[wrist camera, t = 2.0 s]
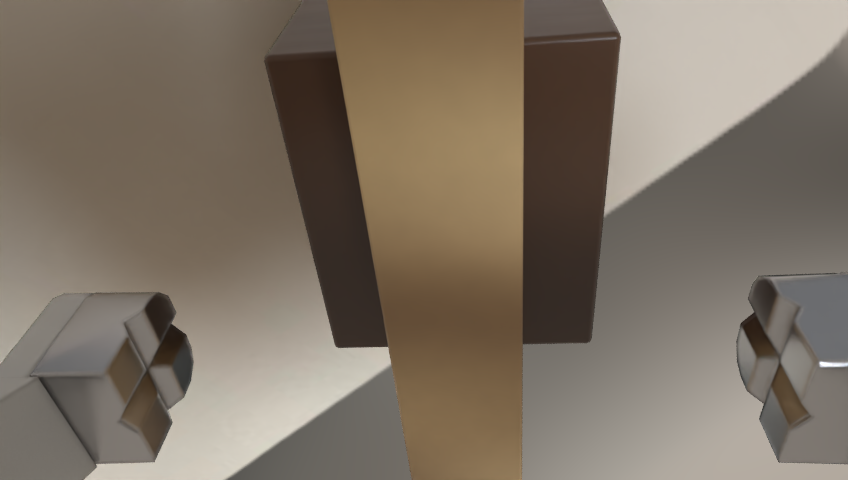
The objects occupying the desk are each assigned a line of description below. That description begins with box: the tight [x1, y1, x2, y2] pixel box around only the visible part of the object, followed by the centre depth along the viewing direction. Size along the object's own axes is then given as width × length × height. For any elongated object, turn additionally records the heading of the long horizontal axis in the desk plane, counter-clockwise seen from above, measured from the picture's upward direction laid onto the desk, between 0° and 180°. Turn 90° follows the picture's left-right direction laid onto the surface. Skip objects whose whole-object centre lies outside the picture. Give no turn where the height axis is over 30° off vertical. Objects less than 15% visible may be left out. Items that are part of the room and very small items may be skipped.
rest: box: [264, 0, 621, 348], centre depth 15 cm, size 6×5×12 cm
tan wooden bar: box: [327, 0, 524, 480], centre depth 10 cm, size 12×2×1 cm, turn 5°
